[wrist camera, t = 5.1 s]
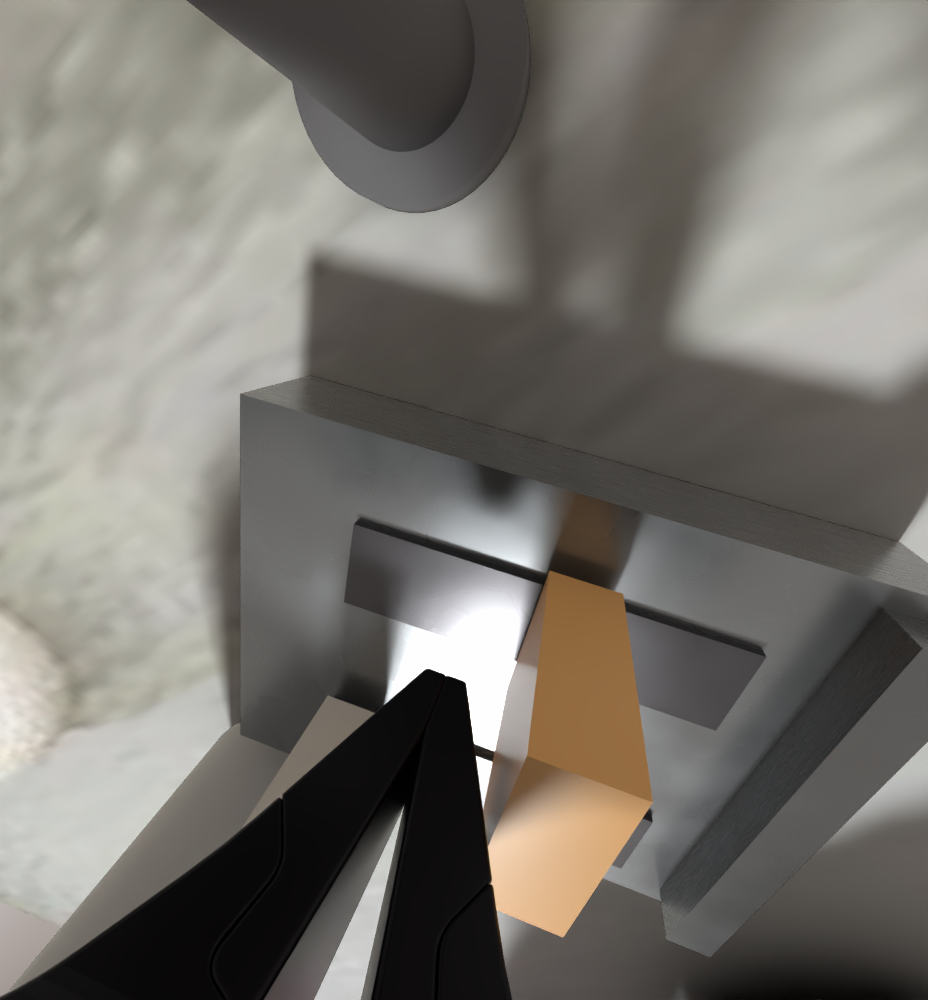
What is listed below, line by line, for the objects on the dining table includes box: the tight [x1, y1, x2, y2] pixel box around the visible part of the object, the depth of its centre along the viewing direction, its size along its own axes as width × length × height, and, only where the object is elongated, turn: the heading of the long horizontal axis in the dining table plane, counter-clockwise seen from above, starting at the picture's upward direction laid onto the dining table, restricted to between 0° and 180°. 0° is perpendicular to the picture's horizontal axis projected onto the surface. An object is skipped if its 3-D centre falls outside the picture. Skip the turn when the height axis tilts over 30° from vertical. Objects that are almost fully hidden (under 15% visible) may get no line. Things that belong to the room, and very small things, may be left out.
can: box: [7, 723, 289, 993], centre depth 15 cm, size 8×8×12 cm
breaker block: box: [240, 376, 928, 957], centre depth 13 cm, size 16×12×4 cm
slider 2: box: [483, 571, 653, 937], centre depth 8 cm, size 2×4×4 cm, turn 167°
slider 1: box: [241, 696, 374, 829], centre depth 12 cm, size 2×4×4 cm, turn 167°
